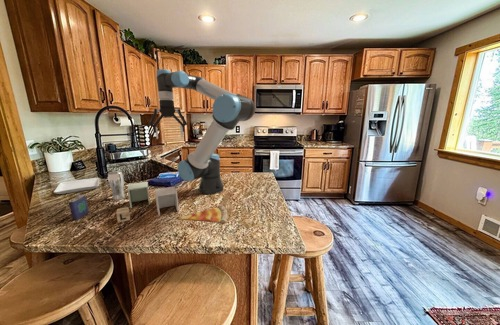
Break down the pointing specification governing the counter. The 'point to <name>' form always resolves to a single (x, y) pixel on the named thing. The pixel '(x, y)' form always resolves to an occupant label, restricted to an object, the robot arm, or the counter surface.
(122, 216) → the letter cube
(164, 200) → the grey mini stool
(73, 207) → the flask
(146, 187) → the sage hood
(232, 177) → the counter surface
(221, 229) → the counter surface
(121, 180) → the beer glass
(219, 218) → the pizza slice
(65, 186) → the salad plate
